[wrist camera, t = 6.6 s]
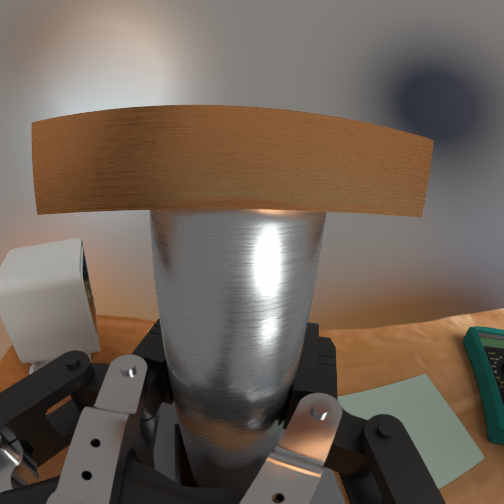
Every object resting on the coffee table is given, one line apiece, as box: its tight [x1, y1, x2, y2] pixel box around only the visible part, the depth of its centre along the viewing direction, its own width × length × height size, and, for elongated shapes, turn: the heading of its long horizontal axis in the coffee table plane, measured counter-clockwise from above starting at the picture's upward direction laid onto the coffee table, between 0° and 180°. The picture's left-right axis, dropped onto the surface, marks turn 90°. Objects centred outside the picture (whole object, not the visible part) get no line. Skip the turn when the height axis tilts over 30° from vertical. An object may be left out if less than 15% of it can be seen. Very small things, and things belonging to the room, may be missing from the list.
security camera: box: [0, 238, 101, 375], centre depth 17 cm, size 6×7×10 cm
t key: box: [32, 105, 433, 493], centre depth 9 cm, size 9×4×17 cm, turn 99°
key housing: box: [154, 401, 345, 504], centre depth 12 cm, size 10×10×3 cm
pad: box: [337, 374, 485, 489], centre depth 15 cm, size 10×10×1 cm
